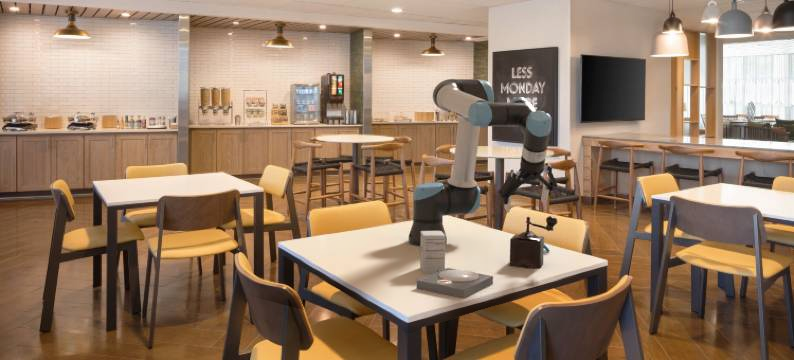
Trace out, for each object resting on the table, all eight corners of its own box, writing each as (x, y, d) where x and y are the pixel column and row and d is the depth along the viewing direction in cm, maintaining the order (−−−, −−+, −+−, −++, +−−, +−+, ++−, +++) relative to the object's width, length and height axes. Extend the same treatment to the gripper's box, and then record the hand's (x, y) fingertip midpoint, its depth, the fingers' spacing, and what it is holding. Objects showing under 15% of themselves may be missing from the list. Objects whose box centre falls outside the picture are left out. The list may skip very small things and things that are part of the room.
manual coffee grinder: (507, 266, 212) (509, 214, 210) (514, 259, 222) (515, 209, 220) (554, 271, 206) (556, 217, 204) (559, 263, 216) (561, 212, 214)
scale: (416, 288, 185) (416, 278, 185) (447, 275, 200) (447, 266, 200) (464, 298, 176) (464, 287, 176) (492, 283, 191) (493, 274, 191)
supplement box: (419, 267, 209) (420, 230, 208) (441, 267, 210) (442, 230, 208) (422, 273, 202) (423, 235, 200) (445, 273, 202) (445, 235, 201)
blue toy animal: (551, 250, 228) (532, 230, 230) (539, 261, 229) (520, 241, 231) (550, 248, 239) (532, 228, 241) (539, 258, 240) (520, 239, 242)
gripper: (501, 170, 195) (495, 220, 208) (574, 156, 200) (563, 206, 213) (492, 156, 200) (486, 205, 214) (563, 143, 205) (553, 192, 219)
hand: (525, 206), depth 213 cm, fingers open, 13 cm apart
